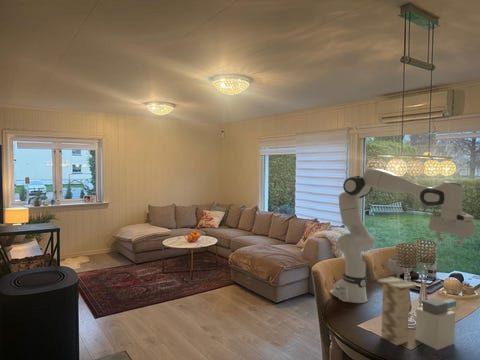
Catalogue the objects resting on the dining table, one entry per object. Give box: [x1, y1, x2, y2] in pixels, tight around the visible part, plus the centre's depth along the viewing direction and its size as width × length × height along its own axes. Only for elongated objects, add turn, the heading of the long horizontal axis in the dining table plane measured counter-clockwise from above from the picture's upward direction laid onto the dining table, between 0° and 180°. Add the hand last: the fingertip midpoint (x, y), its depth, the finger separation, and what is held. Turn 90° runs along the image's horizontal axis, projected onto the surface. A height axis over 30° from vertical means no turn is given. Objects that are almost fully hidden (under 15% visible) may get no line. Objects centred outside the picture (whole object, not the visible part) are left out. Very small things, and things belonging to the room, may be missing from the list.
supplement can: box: [427, 257, 438, 279], centre depth 239 cm, size 8×8×15 cm
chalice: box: [387, 257, 404, 280], centre depth 226 cm, size 14×14×15 cm
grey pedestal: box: [415, 306, 456, 351], centre depth 146 cm, size 10×12×14 cm
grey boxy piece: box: [422, 297, 457, 315], centre depth 147 cm, size 6×18×4 cm, turn 118°
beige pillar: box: [377, 276, 417, 346], centre depth 147 cm, size 12×10×26 cm
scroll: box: [400, 270, 421, 280], centre depth 237 cm, size 15×15×20 cm
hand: (450, 242), depth 161 cm, fingers open, 8 cm apart
